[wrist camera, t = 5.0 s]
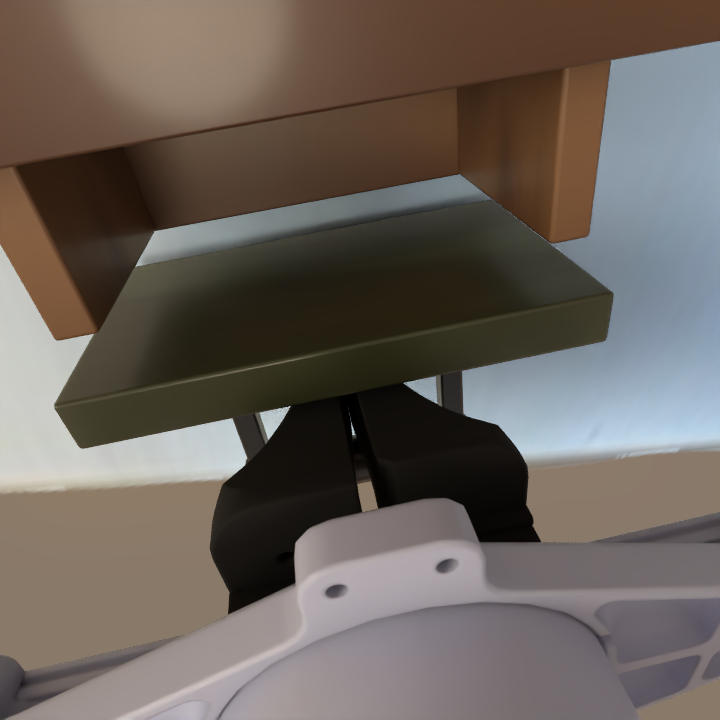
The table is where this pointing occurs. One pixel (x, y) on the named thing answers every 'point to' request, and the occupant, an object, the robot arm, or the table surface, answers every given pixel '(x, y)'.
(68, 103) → the cabinet
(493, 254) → the drawer
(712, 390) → the table surface
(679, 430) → the table surface
